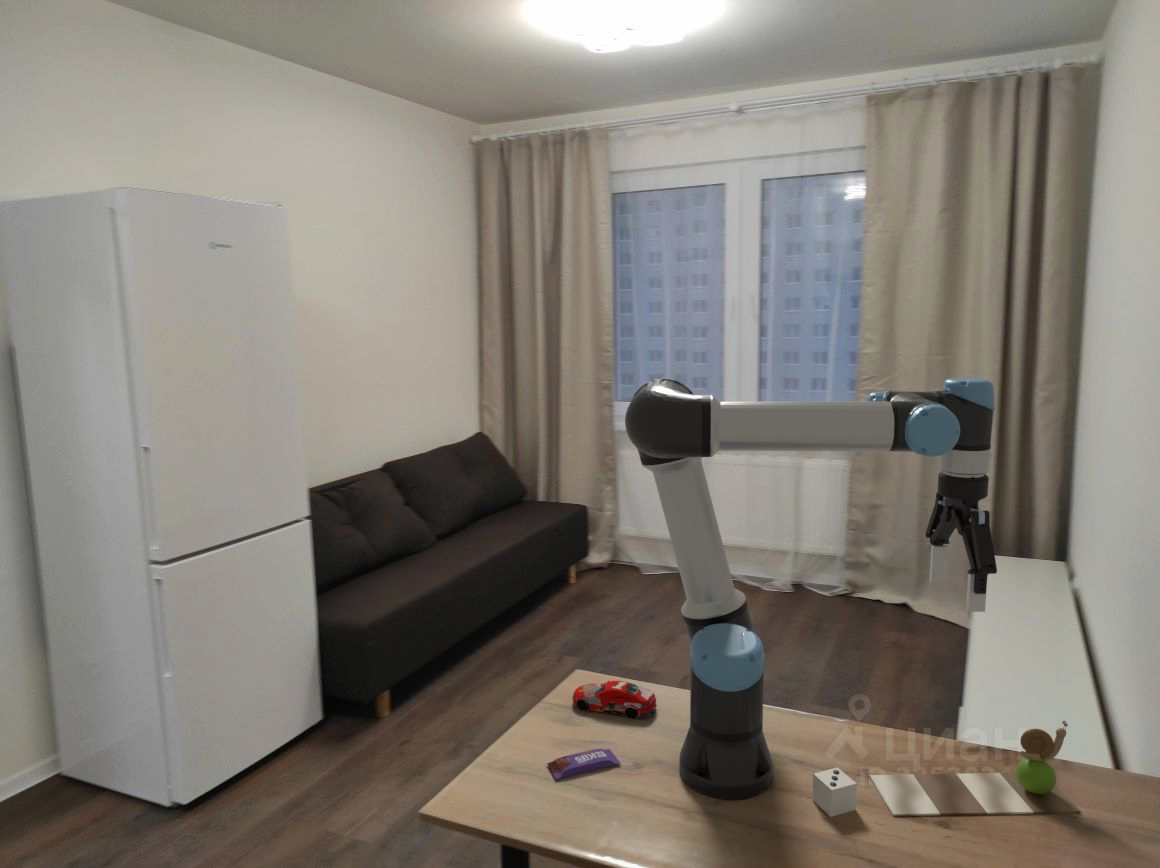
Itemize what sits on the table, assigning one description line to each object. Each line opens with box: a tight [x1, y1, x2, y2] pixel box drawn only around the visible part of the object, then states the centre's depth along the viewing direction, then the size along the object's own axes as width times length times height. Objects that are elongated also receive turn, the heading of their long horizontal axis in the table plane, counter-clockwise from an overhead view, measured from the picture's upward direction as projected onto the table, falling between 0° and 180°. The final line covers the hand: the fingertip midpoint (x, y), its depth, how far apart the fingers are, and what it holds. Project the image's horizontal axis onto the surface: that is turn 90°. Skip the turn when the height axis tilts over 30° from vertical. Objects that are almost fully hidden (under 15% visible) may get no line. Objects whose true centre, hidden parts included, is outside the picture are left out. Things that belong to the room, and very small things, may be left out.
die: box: [811, 767, 858, 818], centre depth 123 cm, size 4×4×5 cm
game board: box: [869, 772, 1081, 817], centre depth 125 cm, size 28×10×1 cm, turn 90°
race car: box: [572, 680, 658, 720], centre depth 153 cm, size 16×7×5 cm, turn 69°
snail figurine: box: [1015, 720, 1068, 794], centre depth 124 cm, size 5×6×12 cm
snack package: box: [546, 748, 622, 780], centre depth 135 cm, size 12×2×5 cm
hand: (955, 595), depth 135 cm, fingers open, 13 cm apart
